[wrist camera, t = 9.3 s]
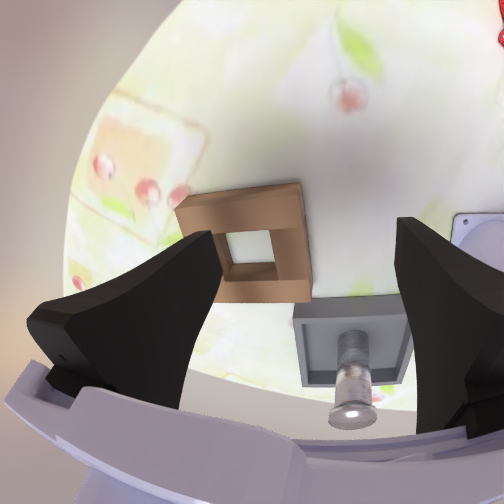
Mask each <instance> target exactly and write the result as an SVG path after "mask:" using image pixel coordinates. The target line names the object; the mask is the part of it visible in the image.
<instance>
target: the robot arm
mask: <svg viewBox="0 0 504 504" xmlns="http://www.w3.org/2000/svg"><path fill="white" fill-rule="evenodd" d="M465 219H467V220H466V222H464V223H463V221H464V220H465ZM394 266H395V272H396V277H397V283H398V287H399V291H400V294H401V298H402V301H403V304H404V308H405V311H406V315H407V318H408V322H409V326H410V330H411V334H412V339H413V344H414V353H415V362H416V376H417V427H416V435H408V436H401V437H391V438H380V439H379V438H378V439H363V440H301V439H290V438H289V437H286V436H283V435H280V434H278V433H275V432H273V431H270V430H267V429H265V428H262V427H259V426H254V425H250V424H245V423H240V422H236V421H231V420H228V419H223V418H217V417H211V416H205V415H200V414H195V413H190V412H185V411H181V410H178V409H179V403H180V398H181V393H182V388H183V384H184V379H185V376H186V372H187V368H188V365H189V361H190V358H191V355H192V351H193V348H194V345H195V342H196V339H197V337H198V334H199V332H200V330H201V328H202V326H203V323H204V321H205V319H206V317H207V315H208V312H209V310H210V308H211V306H212V304H213V301H214V299H215V297H216V295H217V292H218V289H219V286H220V282H221V279H222V275H223V269H222V266H221V262H220V259H219V256H218V253H217V249H216V246H215V243H214V239H213V236H212V233H211V230H205V231H197V232H194V233H192V234H190V235H188V236H186V237H185V238H183V239H181V240H179V241H178V242H176V243H175V244H173V245H172V246H170V247H168V248H167V249H165V250H164V251H162V252H161V253H159V254H157V255H156V256H154V257H152V258H151V259H149V260H147V261H146V262H144V263H142V264H141V265H139V266H137V267H136V268H134V269H132V270H130V271H128V272H126V273H124V274H122V275H120V276H118V277H116V278H114V279H112V280H110V281H107V282H105V283H103V284H100V285H98V286H96V287H93V288H91V289H88V290H85V291H82V292H79V293H76V294H73V295H70V296H67V297H63V298H59V299H55V300H51V301H46V302H43V303H41V304H40V305H39V306H38V307H37V308H36V309H35V310H34V311H33V312H32V314H31V315H30V316H29V317H28V318H27V327H28V330H29V332H30V334H31V336H32V337H33V339H34V340H35V342H36V343H37V344H38V345H39V347H40V348H41V349H42V350H43V352H44V353H45V354H46V355H47V357H48V358H49V359H50V360H51V361H52V363H53V364H55V365H54V366H53V367H52V369H51V370H50V369H49V368H48V367H46V366H45V365H43V364H41V363H39V362H37V361H35V360H31V361H30V363H29V364H28V365H27V367H26V368H25V369H24V371H23V372H22V374H21V375H20V377H19V378H18V379H17V381H16V383H15V384H14V386H13V387H12V388H11V390H10V391H9V393H8V394H7V396H6V397H5V399H4V401H3V402H4V404H5V405H6V406H7V407H8V408H10V409H11V410H12V411H13V412H14V413H15V414H17V415H18V416H19V417H20V418H21V419H22V420H23V421H25V422H26V423H27V424H28V425H29V426H31V427H32V428H33V429H34V430H36V431H37V432H38V433H40V434H41V435H42V436H43V437H45V438H46V439H48V440H49V441H50V442H52V443H53V444H55V445H56V446H57V447H59V448H60V449H62V450H63V451H65V452H67V453H68V454H70V455H71V456H73V457H74V458H76V459H78V460H79V461H81V462H82V463H84V464H86V465H87V466H89V467H90V469H89V471H88V473H87V475H86V477H85V479H84V481H83V483H82V485H81V487H80V490H79V492H78V494H77V496H76V498H75V500H74V502H73V504H490V503H493V502H495V501H498V500H500V499H503V498H504V214H459V215H457V216H456V217H455V218H454V223H453V231H452V237H451V242H449V241H448V240H446V239H445V238H443V237H442V236H440V235H439V234H438V233H436V232H435V231H433V230H432V229H431V228H429V227H428V226H426V225H425V224H423V223H422V222H420V221H419V220H417V219H415V218H414V217H399V218H397V231H396V248H395V261H394Z"/></svg>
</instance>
